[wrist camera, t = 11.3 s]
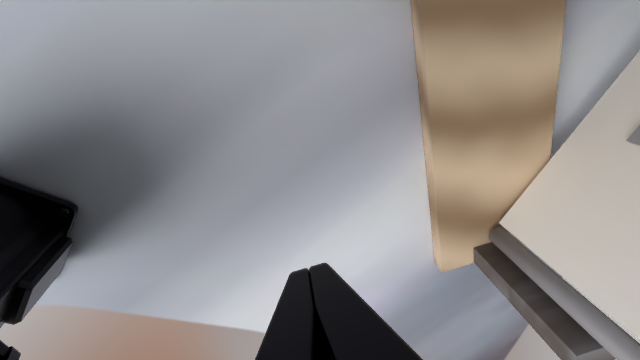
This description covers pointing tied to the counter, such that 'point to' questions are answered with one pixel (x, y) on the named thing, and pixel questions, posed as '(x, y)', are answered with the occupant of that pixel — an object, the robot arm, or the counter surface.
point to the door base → (491, 139)
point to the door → (588, 220)
